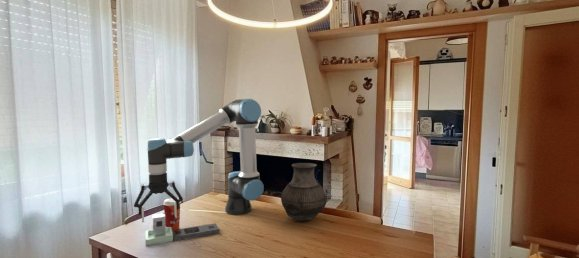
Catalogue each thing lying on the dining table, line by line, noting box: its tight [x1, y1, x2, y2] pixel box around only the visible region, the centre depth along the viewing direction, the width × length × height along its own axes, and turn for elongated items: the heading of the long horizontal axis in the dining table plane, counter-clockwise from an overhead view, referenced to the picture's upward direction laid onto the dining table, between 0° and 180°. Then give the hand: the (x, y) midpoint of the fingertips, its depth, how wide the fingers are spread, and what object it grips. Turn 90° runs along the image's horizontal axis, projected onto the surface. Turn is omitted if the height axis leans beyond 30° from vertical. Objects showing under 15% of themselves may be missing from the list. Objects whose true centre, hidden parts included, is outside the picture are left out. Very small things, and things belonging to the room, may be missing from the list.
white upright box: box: [152, 212, 166, 238], centre depth 132 cm, size 5×5×10 cm
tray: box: [145, 226, 174, 246], centre depth 133 cm, size 11×11×2 cm
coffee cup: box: [162, 197, 182, 233], centre depth 142 cm, size 8×8×15 cm
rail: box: [172, 222, 220, 242], centre depth 138 cm, size 20×8×2 cm, turn 116°
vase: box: [280, 162, 328, 222], centre depth 156 cm, size 25×25×30 cm
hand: (159, 218), depth 132 cm, fingers open, 13 cm apart
